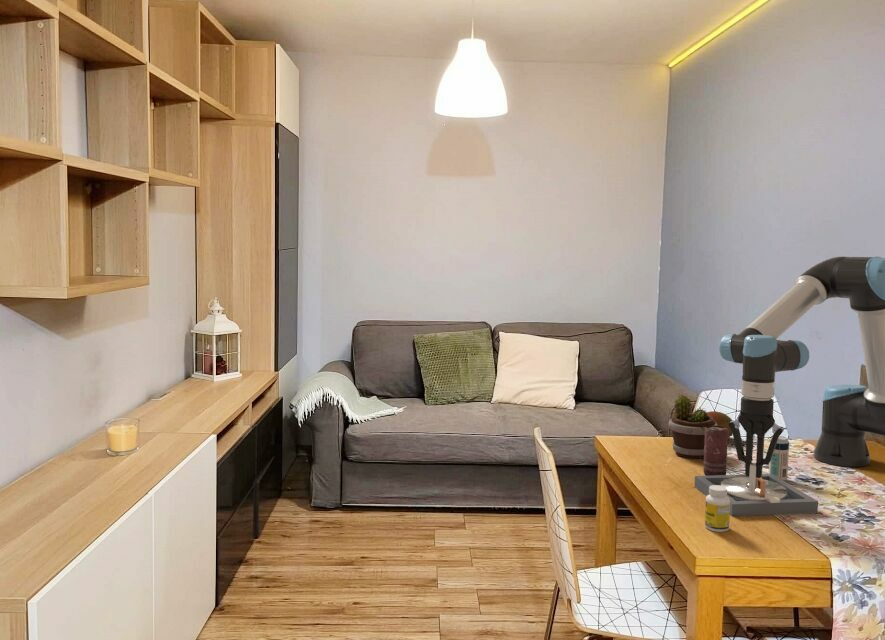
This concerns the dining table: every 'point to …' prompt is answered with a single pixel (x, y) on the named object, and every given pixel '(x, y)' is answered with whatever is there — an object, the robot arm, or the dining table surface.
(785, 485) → the dial plate
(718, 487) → the supplement bottle
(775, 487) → the dial
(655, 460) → the dining table surface
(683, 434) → the flowerpot
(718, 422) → the fruit
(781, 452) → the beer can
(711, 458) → the can
